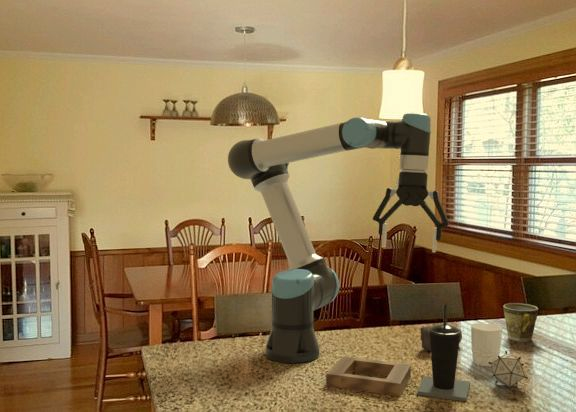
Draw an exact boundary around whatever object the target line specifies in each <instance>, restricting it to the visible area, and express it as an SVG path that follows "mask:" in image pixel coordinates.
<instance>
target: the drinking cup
mask: <svg viewBox="0 0 576 412" xmlns="http://www.w3.org/2000/svg"><path fill="white" fill-rule="evenodd" d="M447 308H448V305H447V303H446V302H444V303H443V322H442V323H439V324H435V325H433V326H429V327H430V328H429V329H428V331H429V333H430V346H431V351H430V357H431V359H430V360H431V370H432V377H433V385H434V387H436V388H439V389H444V390H448V389H453V388H454V383H455V380H456V373H457V364H458V355H459V348H460V347H459V346H460V343H459V340H460V335H461V333H463V332H462V330H461V329H460V328H457V327H456V326H455V325H451V324H448V323H447V320H448V319H447V317H448V316H447V315H448V314H447V313H448V312H447V310H448V309H447Z"/></svg>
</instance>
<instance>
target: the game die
mask: <svg viewBox="0 0 576 412" xmlns="http://www.w3.org/2000/svg"><path fill="white" fill-rule="evenodd" d="M521 359H522V356H518V357H515V356H513V355H511V354H509V353H508V351H507V350H505V352H504V354H502V355H501V356H500V355H499V356H498V359H497V360H495V361H494V362H492V363H491V362H488V363H489V364H491V365H492V367H491V369H492V373H493V374H491V378H495V379H496V380H495V381H494V384H498V383H500V384H501V385H504V386H505V387H508V390H509V391H511V389H512V388H511V387H513V386H514V385H518V383H519V382H520V381H522V380H523V379H526V380H528V379H529V377H528V376H526V375H525V371H524V369H523V366H524V365H525V363H523V362H521V361H520V360H521Z"/></svg>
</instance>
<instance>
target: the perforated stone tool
mask: <svg viewBox="0 0 576 412" xmlns="http://www.w3.org/2000/svg"><path fill="white" fill-rule="evenodd" d="M430 327H431V326H425V327H421V328H420V341H421V347H422V349H423V350H424V351H426V352H431V346H430V333H429V331H428V329H429V328H430ZM462 333H463V332H462ZM462 333H461V335H460V340H459V344H460V343H461V341H462V340H463V339H462V338H463V334H462Z"/></svg>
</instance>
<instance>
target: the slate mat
mask: <svg viewBox="0 0 576 412" xmlns="http://www.w3.org/2000/svg"><path fill="white" fill-rule="evenodd" d="M470 386H471V381H468V380H460V379H455V383H454V388H453V389H448V390H444V389H439V388H436V387H434V385H433V376H431V375H430V376H428V375H424V376H423V379H422V380H421V383H420V385H419V387H418V389H417V391H416V392H417V393H416V395H417V396H425V397H432V398H438V399H439V398H440V399H447V400H453V401H460V402H461V401H462V402H467V398H468V396H469V392H470V391H469V390H470Z"/></svg>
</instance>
